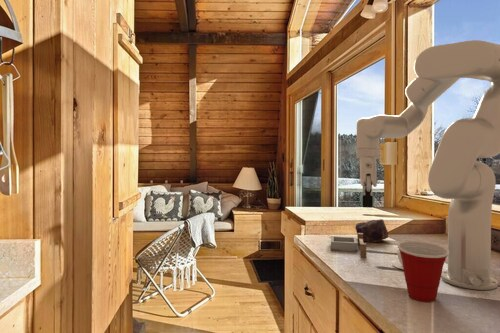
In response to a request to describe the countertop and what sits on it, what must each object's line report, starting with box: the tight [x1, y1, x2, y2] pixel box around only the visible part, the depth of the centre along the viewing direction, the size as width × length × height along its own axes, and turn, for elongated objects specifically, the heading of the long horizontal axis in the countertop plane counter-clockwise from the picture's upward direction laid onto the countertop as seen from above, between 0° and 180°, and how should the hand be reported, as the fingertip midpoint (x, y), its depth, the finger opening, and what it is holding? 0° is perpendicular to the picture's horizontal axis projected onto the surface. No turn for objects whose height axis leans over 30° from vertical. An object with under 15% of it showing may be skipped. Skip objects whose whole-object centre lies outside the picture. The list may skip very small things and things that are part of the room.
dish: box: [330, 235, 359, 253], centre depth 128 cm, size 9×9×3 cm
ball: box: [359, 192, 376, 206], centre depth 123 cm, size 5×5×5 cm
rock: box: [354, 218, 389, 244], centre depth 138 cm, size 12×9×10 cm
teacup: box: [392, 249, 404, 271], centre depth 106 cm, size 10×10×5 cm
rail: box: [357, 233, 367, 259], centre depth 124 cm, size 18×2×4 cm, turn 166°
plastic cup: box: [397, 240, 449, 303], centre depth 82 cm, size 11×11×12 cm
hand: (367, 205), depth 123 cm, fingers closed on ball, 4 cm apart
